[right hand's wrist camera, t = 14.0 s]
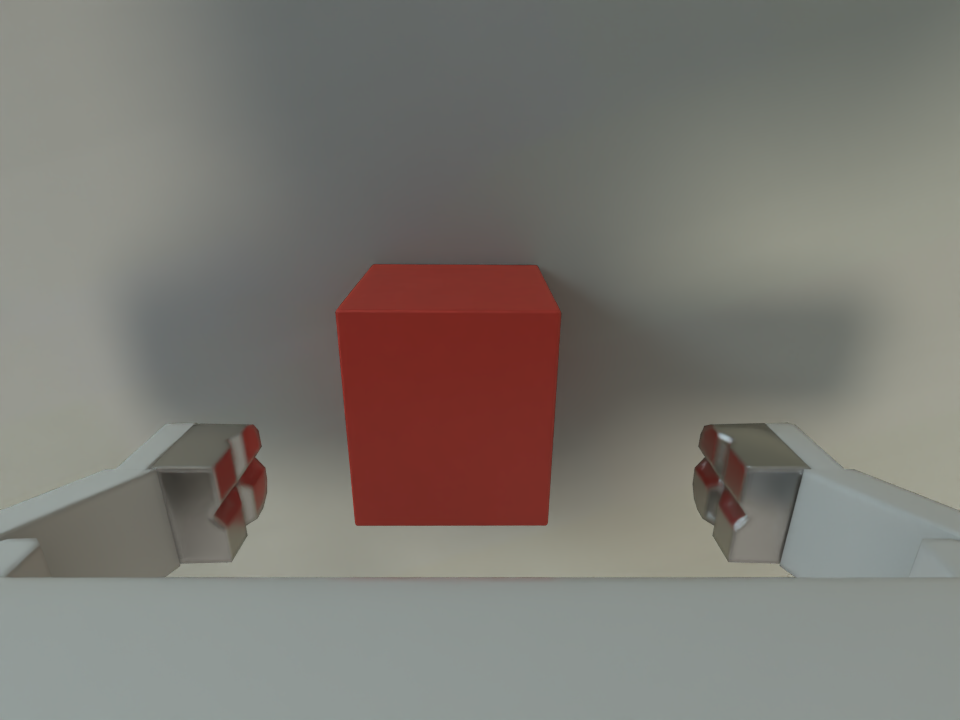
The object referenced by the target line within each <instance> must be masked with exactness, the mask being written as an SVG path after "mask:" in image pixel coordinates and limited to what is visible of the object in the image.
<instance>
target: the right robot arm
mask: <svg viewBox="0 0 960 720" xmlns="http://www.w3.org/2000/svg"><path fill="white" fill-rule="evenodd" d="M261 447H262V445H261V441H260V436H259V431H258V429H257V428H256V427H255V426H254V425H253V424H198V423H174V424H165V425H164V426H163V427H162V428H161V429H160V430H159V431H158V432H156V433H155V434H154V435H153V436H152V437H151V438H150V439H149V440H147V441H146V442H145V443H144V444H143V445H142V446H141V447H140V448H138V449H137V450H136V451H135V452H134V453H133V454H132V455H131V456H129V457H128V458H127V459H126V460H125V461H124V462H123V463H122V464H120V465H119V466H118V467H117V468H116V469H105V470H103V471H100V472H98V473H95V474H93V475H90V476H88V477H85V478H82V479H80V480H77V481H75V482H72V483H70V484H67V485H64V486H62V487H59V488H57V489H54V490H52V491H49V492H47V493H44V494H41V495H39V496H36V497H34V498H31V499H29V500H26V501H24V502H21V503H18V504H16V505H13V506H11V507H8V508H6V509H3V510H1V511H0V720H960V511H959V510H957V509H954V508H952V507H949V506H946V505H944V504H941V503H939V502H936V501H934V500H931V499H929V498H926V497H923V496H921V495H918V494H916V493H913V492H911V491H908V490H906V489H903V488H901V487H898V486H895V485H893V484H890V483H888V482H885V481H883V480H880V479H878V478H875V477H872V476H870V475H867V474H865V473H862V472H860V471H857V470H855V469H844V468H843V467H842V466H841V465H840V464H838V463H837V462H836V461H835V460H834V459H833V458H832V457H831V456H830V455H828V454H827V453H826V452H825V451H824V450H823V449H822V448H821V447H819V446H818V445H817V444H816V443H815V442H814V441H813V440H812V439H810V438H809V437H808V436H807V435H806V434H805V433H804V432H803V431H801V430H800V429H799V428H798V427H797V426H796V425H794V424H790V423H770V424H765V423H753V424H711V425H706V426H704V428H703V430H702V432H701V434H700V440H699V445H698V447H699V448H700V450H701V452H702V453H703V455H704V456H705V458H704V459H703V460H702V461H701V462H700V463H699V464H698V465H697V466H696V467H695V469H694V477H693V494H694V500H695V504H696V507H697V510H698V511H699V513H700V515H701V517H702V518H703V519H704V520H706V521H707V522H709V523H711V524H712V525H714V530H713V535H712V536H713V537H714V539H715V541H716V542H717V544H718V546H719V547H720V549H721V551H722V552H723V554H724V556H725V557H726V559H727V561H728V562H741V563H778V564H780V566H781V567H782V568H783V569H785V570H786V571H788V572H789V573H790V574H792V575H793V576H794V577H166V576H167V575H169V574H170V573H171V572H173V571H174V570H175V569H177V568H178V567H180V564H181V563H218V562H232V561H233V559H234V557H235V556H236V554H237V552H238V551H239V549H240V547H241V546H242V544H243V542H244V541H245V539H246V537H247V536H248V535H247V530H246V525H248V524H249V523H251V522H253V521H254V520H256V519H257V518H258V517H259V515H260V513H261V511H262V509H263V507H264V503H265V499H266V495H267V476H266V469H265V467H264V466H263V465H262V464H261V463H260V462H259V461H258V460H257V459H256V458H255V456H256V455H257V453H258V452H259V450H260V448H261Z"/></svg>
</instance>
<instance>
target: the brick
mask: <svg viewBox="0 0 960 720" xmlns="http://www.w3.org/2000/svg"><path fill="white" fill-rule="evenodd" d="M335 313H336V324H337V334H338V345H339V356H340V366H341V377H342V388H343V399H344V409H345V420H346V431H347V441H348V452H349V463H350V474H351V484H352V495H353V506H354V516H355V524H356V525H357V526H483V525H547V523H548V512H549V497H550V481H551V466H552V450H553V434H554V419H555V403H556V388H557V372H558V357H559V341H560V325H561V311H560V309H559V307H558V305H557V303H556V301H555V299H554V297H553V295H552V293H551V291H550V289H549V287H548V285H547V283H546V281H545V279H544V277H543V276H542V274H541V272H540V270H539V268H538V266H537V265H415V264H374V265H372V266H371V267H370V269H369V270H368V271H367V272H366V274H365V275H364V276H363V277H362V279H361V280H360V281H359V282H358V284H357V285H356V286H355V287H354V289H353V290H352V291H351V292H350V294H349V295H348V296H347V297H346V298H345V300H344V301H343V302H342V303H341V305H340V306H339V307H338V308H337V310H336V312H335Z"/></svg>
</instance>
